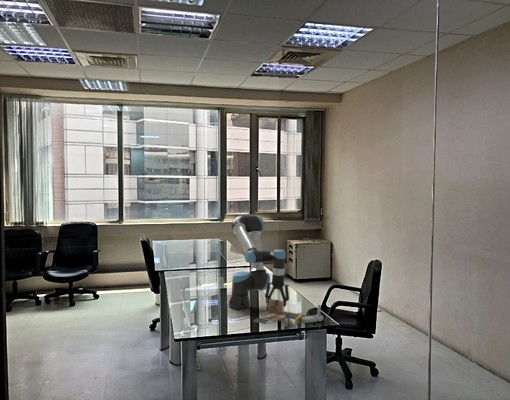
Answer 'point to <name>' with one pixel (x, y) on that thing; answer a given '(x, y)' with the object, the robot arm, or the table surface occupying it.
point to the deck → (274, 316)
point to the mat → (261, 320)
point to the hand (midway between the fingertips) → (276, 309)
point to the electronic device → (313, 317)
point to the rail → (290, 315)
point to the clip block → (275, 305)
